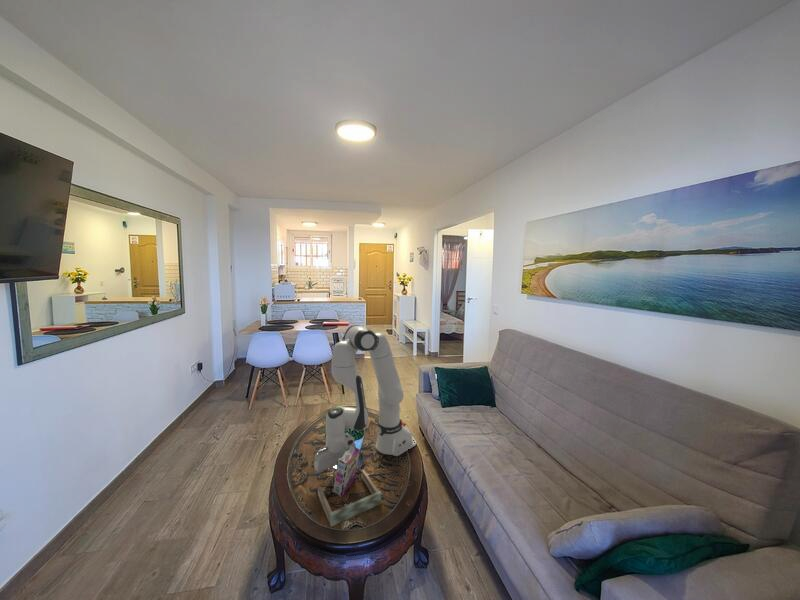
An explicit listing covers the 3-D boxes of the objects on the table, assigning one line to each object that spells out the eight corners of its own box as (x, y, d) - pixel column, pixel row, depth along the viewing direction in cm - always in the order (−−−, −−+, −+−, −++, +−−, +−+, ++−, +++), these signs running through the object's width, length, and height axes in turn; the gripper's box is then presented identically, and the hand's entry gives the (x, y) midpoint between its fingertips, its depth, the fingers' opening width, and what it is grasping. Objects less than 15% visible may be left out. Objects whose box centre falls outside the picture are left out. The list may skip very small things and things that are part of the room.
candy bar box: (341, 498, 126) (346, 465, 122) (332, 492, 128) (336, 459, 124) (355, 480, 136) (360, 449, 133) (346, 475, 138) (351, 444, 134)
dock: (363, 477, 138) (363, 467, 137) (381, 503, 124) (381, 492, 123) (317, 495, 127) (317, 484, 126) (331, 526, 112) (331, 515, 112)
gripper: (317, 456, 128) (318, 485, 130) (357, 437, 141) (357, 464, 143) (311, 449, 132) (311, 477, 134) (350, 431, 146) (350, 457, 148)
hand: (335, 470), depth 139 cm, fingers closed
